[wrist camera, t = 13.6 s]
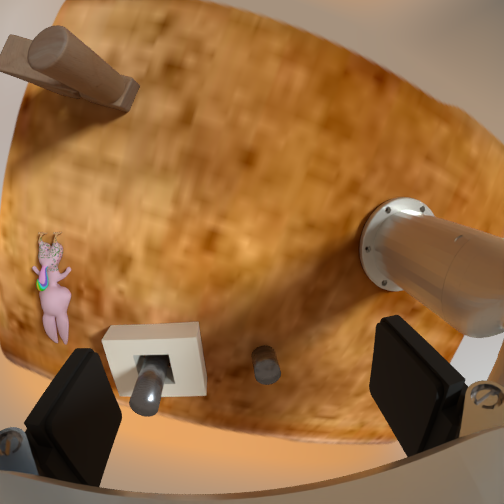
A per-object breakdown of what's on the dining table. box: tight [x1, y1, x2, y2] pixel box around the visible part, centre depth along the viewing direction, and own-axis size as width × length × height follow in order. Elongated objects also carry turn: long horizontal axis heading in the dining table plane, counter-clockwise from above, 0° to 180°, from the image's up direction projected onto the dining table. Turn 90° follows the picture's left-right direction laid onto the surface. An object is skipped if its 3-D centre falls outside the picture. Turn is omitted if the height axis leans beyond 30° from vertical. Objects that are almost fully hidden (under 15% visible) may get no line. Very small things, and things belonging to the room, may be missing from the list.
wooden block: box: [0, 26, 140, 112], centre depth 22 cm, size 4×11×18 cm, turn 68°
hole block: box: [102, 322, 207, 397], centre depth 38 cm, size 12×9×4 cm
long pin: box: [129, 354, 170, 416], centre depth 34 cm, size 3×3×11 cm
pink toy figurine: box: [32, 232, 71, 344], centre depth 34 cm, size 6×6×15 cm
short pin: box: [252, 345, 281, 385], centre depth 39 cm, size 3×3×4 cm
